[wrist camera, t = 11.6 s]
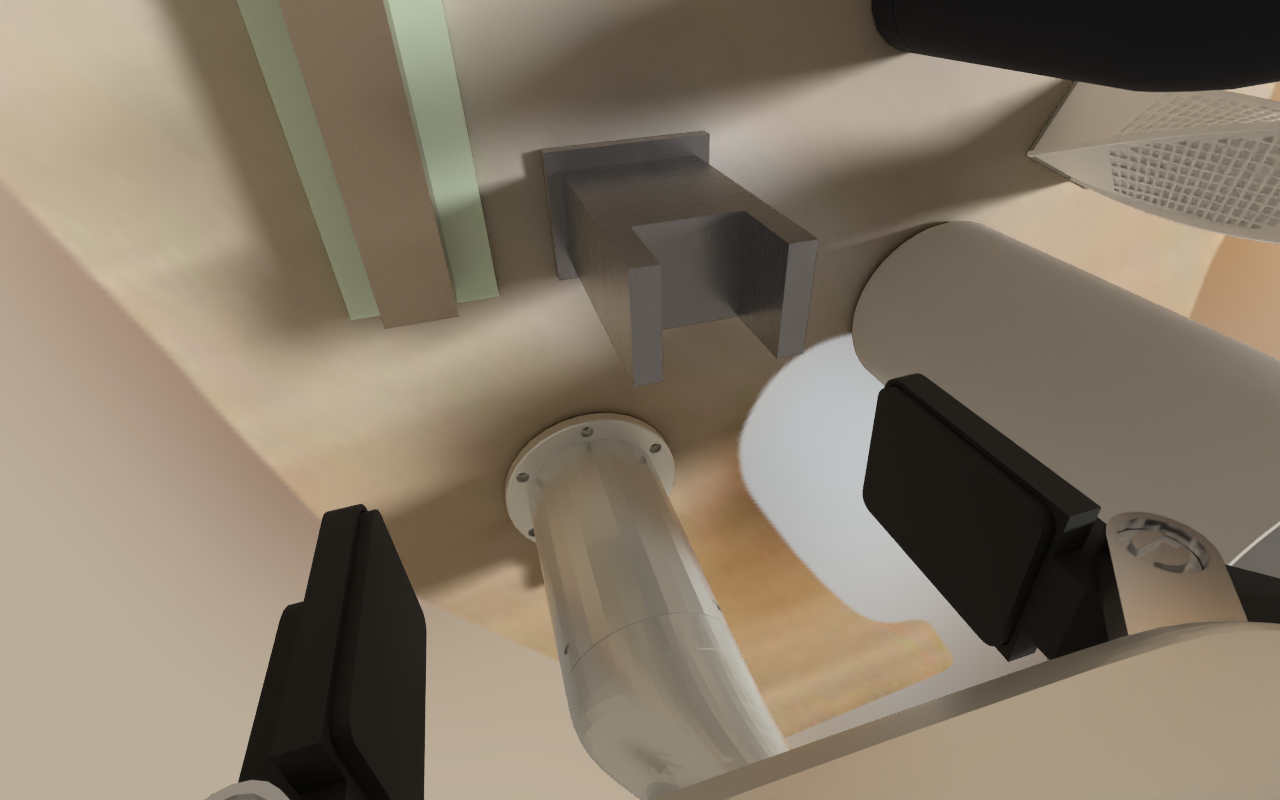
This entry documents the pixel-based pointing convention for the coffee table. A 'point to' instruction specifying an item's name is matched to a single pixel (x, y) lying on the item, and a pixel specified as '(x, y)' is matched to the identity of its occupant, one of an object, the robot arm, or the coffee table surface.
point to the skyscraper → (1172, 155)
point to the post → (674, 246)
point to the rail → (375, 152)
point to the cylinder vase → (1087, 381)
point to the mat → (439, 131)
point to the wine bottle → (1098, 39)
